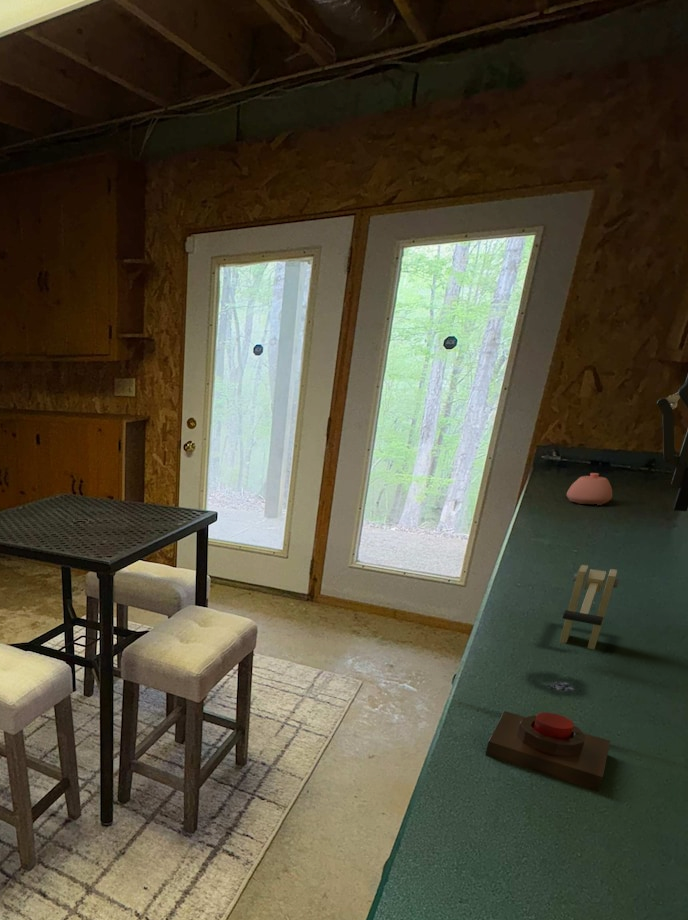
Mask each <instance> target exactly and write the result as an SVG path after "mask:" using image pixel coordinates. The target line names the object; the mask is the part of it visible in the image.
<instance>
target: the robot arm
mask: <svg viewBox="0 0 688 920" xmlns="http://www.w3.org/2000/svg"><path fill="white" fill-rule="evenodd" d="M680 399H681V401H682V403H684V404H683V405H685V407H686V408H687V409H688V374H687V376H686V378H685V381H684V383H682V385H680V386H679V388H678V391H677V392H675V393H672V394H671V395H670V394H669V395H668V396H666V397H661V398H658V400H657V402H656V404H657V406H658V408H659V411H660V412H661V415H662V449H663V453H662V454H663V461H664V462H665V463H668V464H671V465H673V466H675V469H674V473H673V476H672V479H671V482H670V484H671V489H672V488H673V489H678V491H677V494H676V496H675V501H674V504H673V507H672V508H673V511H677V512H688V428H687V429H686V434H685V435H684V439H683V442H682V445H681V449H680V452H679V454H678V455H677V454H675V418H674V417H675V416H674V415H675V414H674V411H673V410H675V409H677V407H678V405H679V403H678V402H679V400H680Z"/></svg>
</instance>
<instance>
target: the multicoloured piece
mask: <svg viewBox="0 0 688 920" xmlns="http://www.w3.org/2000/svg"><path fill="white" fill-rule="evenodd" d="M606 576H607V571H606V570H600V569H592V568H591V569H589V571H588V575H587V576H586V580H585V581H586V582H585V585H584V590H586V594H585V596H584V599H583V602H582V605H581V608H580V611H576V612H573V611H568V609H565V610H564V611H563V614H562V619H563V620H565V619H568V620H573V622H574V621H575V622H578V623H579V622H580V623H584V624H589V625H593V626H594V625H600V626H601V624H602V625H603V623H602V620H603V617H601V616H597V615H595V614H590V611H591V608H592V605H593V602H594V599H595V597H596V593H597V592H602V588H603V586H604V582H605V579H606ZM603 621H604V620H603ZM601 627H602V626H601Z"/></svg>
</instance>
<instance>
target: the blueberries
mask: <svg viewBox="0 0 688 920" xmlns="http://www.w3.org/2000/svg"><path fill="white" fill-rule="evenodd" d="M553 684H554V685H551V684H548V685H546V687H547V688H548V689H550V690H558V691H563V692H564V691H565V692H569V691H571V692H572V691H573V692H574V691H575V690H576V688H575V686H573V685H570V683H568V682H566V681H562V682H558V681H553Z"/></svg>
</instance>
